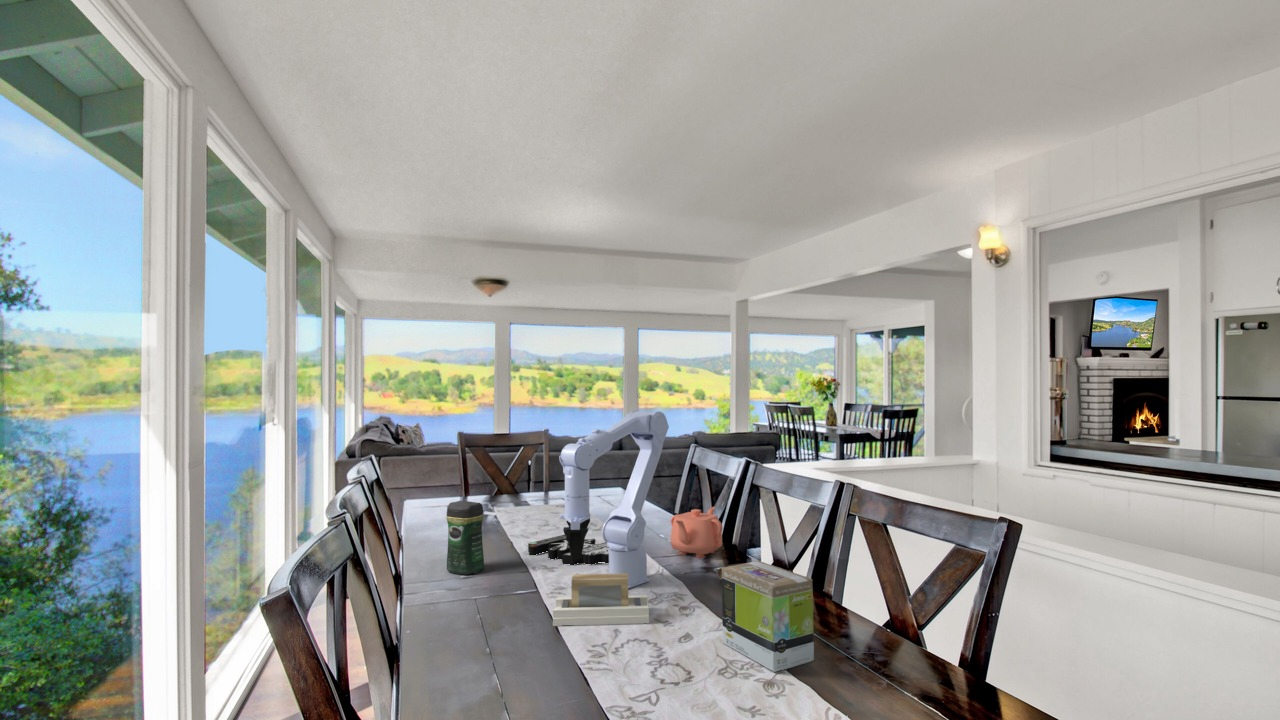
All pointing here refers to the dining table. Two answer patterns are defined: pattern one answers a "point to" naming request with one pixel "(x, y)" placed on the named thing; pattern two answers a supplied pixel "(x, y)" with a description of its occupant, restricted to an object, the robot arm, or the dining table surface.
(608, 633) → the dining table surface
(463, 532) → the coffee jar
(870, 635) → the dining table surface
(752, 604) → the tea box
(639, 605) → the cream rectangular frame
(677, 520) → the teapot
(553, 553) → the sign
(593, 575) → the beige rectangular panel
